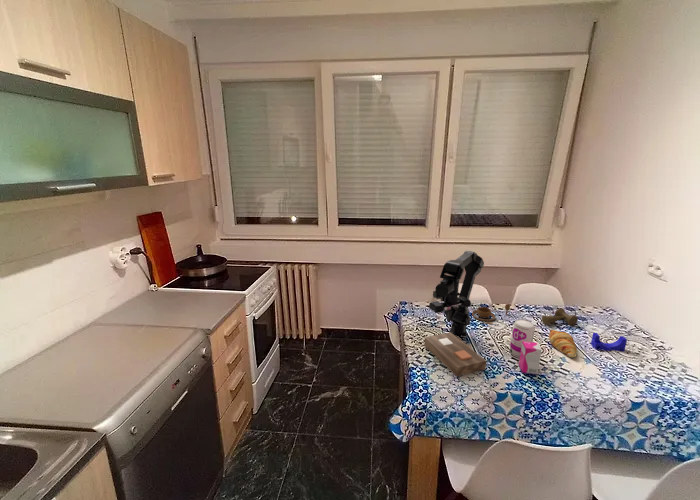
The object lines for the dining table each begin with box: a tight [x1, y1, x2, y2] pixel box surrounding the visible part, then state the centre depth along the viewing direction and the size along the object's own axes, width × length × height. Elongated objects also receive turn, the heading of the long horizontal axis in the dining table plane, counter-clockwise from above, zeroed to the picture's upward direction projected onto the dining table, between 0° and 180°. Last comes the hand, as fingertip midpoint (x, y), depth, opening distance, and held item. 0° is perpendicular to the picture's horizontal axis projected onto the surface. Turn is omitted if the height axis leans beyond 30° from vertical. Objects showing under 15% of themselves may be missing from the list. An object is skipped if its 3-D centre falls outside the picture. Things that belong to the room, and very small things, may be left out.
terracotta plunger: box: [454, 350, 472, 361], centre depth 137 cm, size 5×5×4 cm
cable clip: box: [590, 332, 628, 352], centre depth 150 cm, size 12×4×6 cm, turn 74°
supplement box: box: [518, 341, 542, 376], centre depth 133 cm, size 6×6×12 cm
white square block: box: [438, 338, 453, 345], centre depth 148 cm, size 5×5×4 cm
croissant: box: [548, 329, 578, 358], centre depth 151 cm, size 21×10×8 cm, turn 173°
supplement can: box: [509, 319, 536, 359], centre depth 144 cm, size 8×8×15 cm
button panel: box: [423, 331, 487, 377], centre depth 143 cm, size 14×24×4 cm, turn 20°
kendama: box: [541, 307, 579, 327], centre depth 174 cm, size 6×10×20 cm
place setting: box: [471, 304, 511, 325], centre depth 179 cm, size 18×20×6 cm
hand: (448, 321), depth 150 cm, fingers closed
